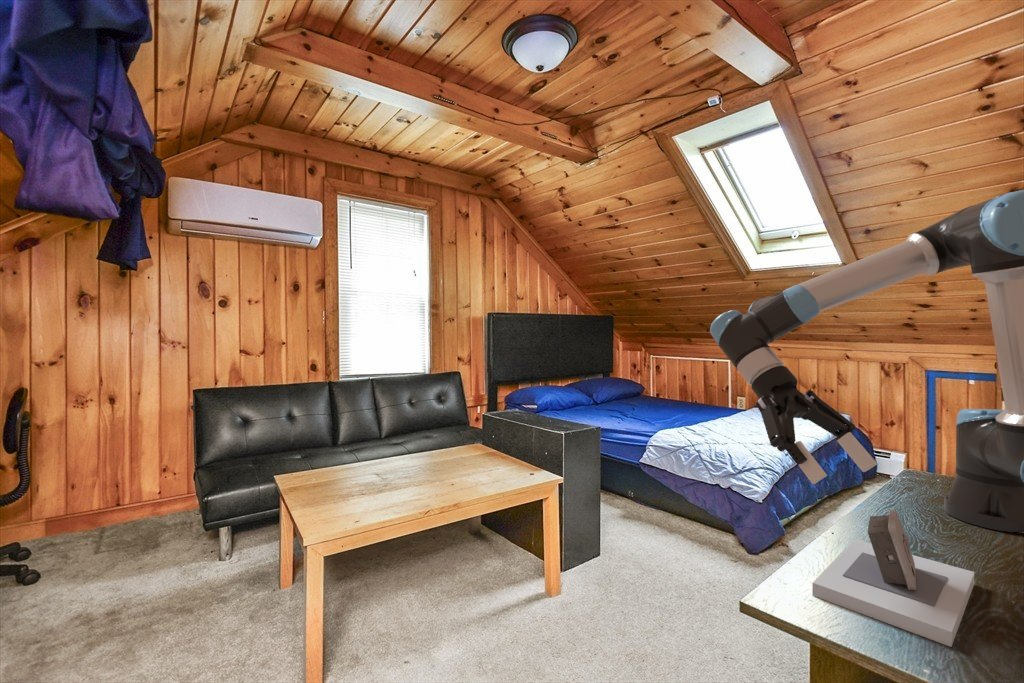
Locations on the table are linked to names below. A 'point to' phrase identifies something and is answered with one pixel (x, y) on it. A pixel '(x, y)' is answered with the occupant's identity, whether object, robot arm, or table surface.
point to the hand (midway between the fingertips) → (846, 474)
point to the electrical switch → (892, 549)
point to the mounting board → (898, 592)
